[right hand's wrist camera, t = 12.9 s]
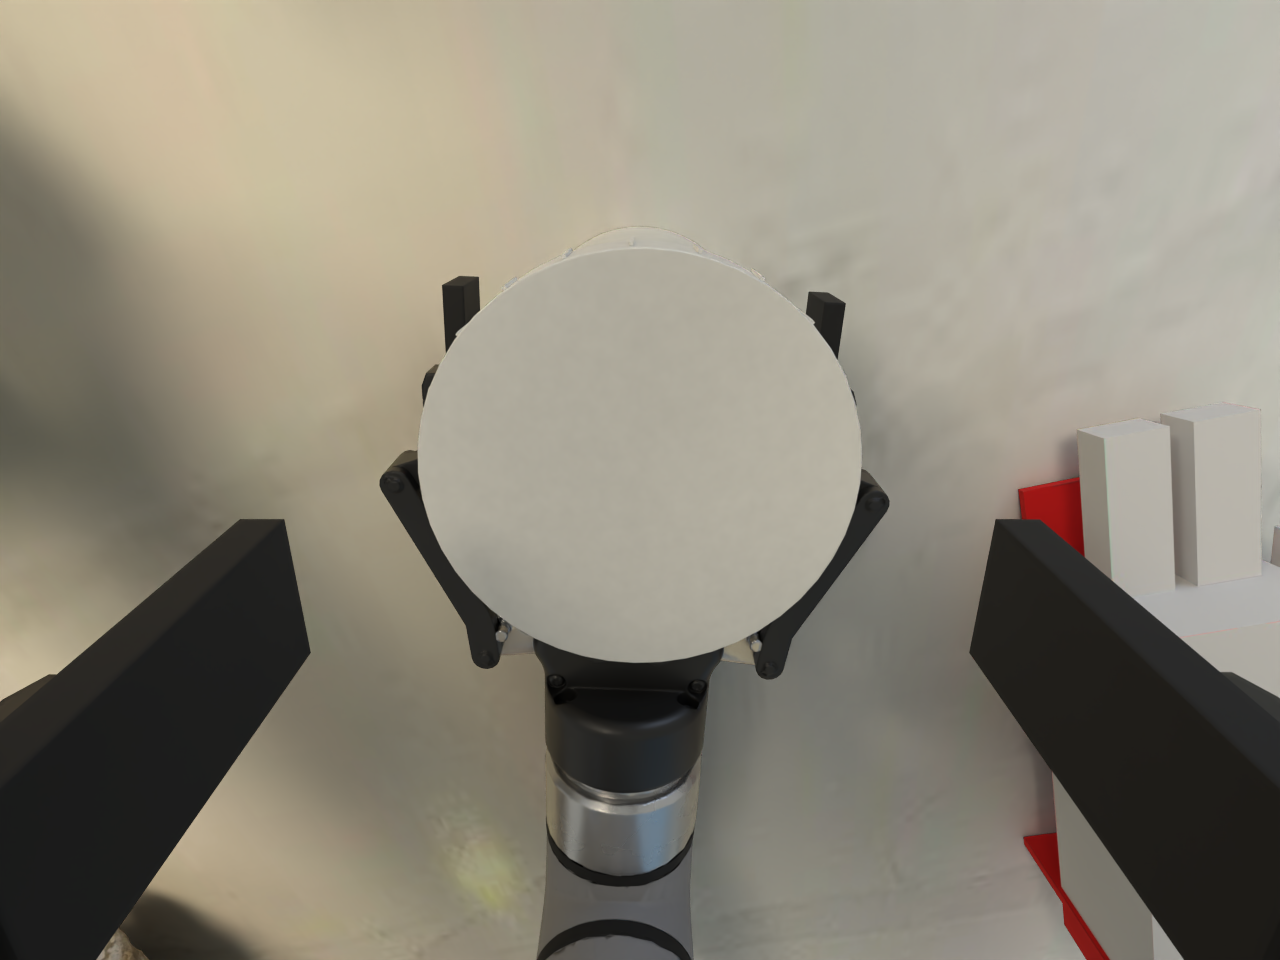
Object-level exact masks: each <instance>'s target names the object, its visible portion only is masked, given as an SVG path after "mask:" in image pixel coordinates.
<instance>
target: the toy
mask: <svg viewBox="0 0 1280 960" xmlns="http://www.w3.org/2000/svg"><path fill="white" fill-rule="evenodd" d="M1077 443H1078V459H1079V474H1080V477H1077V478H1072V479H1067V480H1062V481H1057V482H1052V483H1047V484H1042V485H1037V486H1032V487H1028V488H1023V489H1018V490H1019V498H1020V506H1021V515H1022V519H1040V520H1041V521H1042V522H1044V523H1045V524H1046V525H1047V526H1048V527H1049V528H1051V529H1052V530H1053V531H1054V532H1055V533H1057V534H1058V535H1059V536H1060V537H1061V538H1062V539H1064V540H1065V541H1066V542H1067V543H1068V544H1070V545H1071V546H1072V547H1073V548H1074V549H1075V550H1077V551H1078V552H1079V553H1080V554H1081V555H1083V556H1084V557H1085V558H1086V559H1087V560H1088V561H1090V562H1091V563H1092V564H1093V565H1094V566H1096V567H1097V568H1098V569H1099V570H1100V571H1101V572H1103V573H1104V574H1105V575H1106V576H1107V577H1109V578H1110V579H1111V580H1112V581H1113V582H1114V583H1116V584H1117V585H1118V586H1119V587H1120V588H1122V589H1123V590H1124V591H1125V592H1126V593H1127V594H1129V595H1130V596H1131V597H1132V598H1133V599H1135V600H1136V601H1137V602H1138V603H1139V604H1140V605H1142V606H1143V607H1144V608H1145V609H1146V610H1148V611H1149V612H1150V613H1151V614H1152V615H1153V616H1155V617H1156V618H1157V619H1158V620H1159V621H1161V622H1162V623H1163V624H1164V625H1165V626H1166V627H1168V628H1169V629H1170V630H1171V631H1172V632H1174V633H1175V634H1176V635H1177V636H1178V637H1179V638H1181V639H1182V640H1183V641H1184V642H1185V643H1187V644H1188V645H1189V646H1190V647H1191V648H1192V649H1194V650H1195V651H1196V652H1197V653H1198V654H1200V655H1201V656H1202V657H1203V658H1204V659H1205V660H1207V661H1208V662H1209V663H1210V664H1211V665H1213V666H1214V667H1215V668H1216V669H1217V670H1218V671H1220V672H1233V673H1235V674H1237V675H1238V676H1240V677H1242V678H1244V679H1246V680H1248V681H1250V682H1251V683H1253V684H1255V685H1257V686H1259V687H1261V688H1263V689H1264V690H1266V691H1268V692H1270V693H1272V694H1274V695H1276V696H1277V697H1279V698H1280V526H1275V528H1274V537H1273V546H1272V555H1271V563H1269V562H1266V561H1264V560H1262V554H1261V409H1256V408H1251V407H1246V406H1241V405H1236V404H1231V403H1225V402H1221V403H1215V404H1210V405H1205V406H1199V407H1194V408H1189V409H1183V410H1178V411H1173V412H1167V413H1162V414H1161V424H1159V423H1155V422H1151V421H1148V420H1144V419H1140V418H1135V419H1130V420H1125V421H1119V422H1114V423H1108V424H1103V425H1098V426H1092V427H1087V428H1082V429H1077ZM1052 780H1053V793H1054V805H1055V817H1056V829H1057V832H1056V833H1049V834H1042V835H1035V836H1028V837H1024V845H1025V846H1026V848H1027V849H1028V851H1029V852H1030V854H1031V855H1032V857H1033V859H1034V860H1035V862H1036V863H1037V865H1038V866H1039V868H1040V869H1041V871H1042V872H1043V874H1044V875H1045V877H1046V879H1047V880H1048V882H1049V883H1050V885H1051V886H1052V888H1053V889H1054V891H1055V892H1056V894H1057V896H1058V897H1059V899H1060V900H1061V902H1062V903H1063V914H1064V925H1065V926H1066V928H1067V929H1068V931H1069V933H1070V934H1071V936H1072V937H1073V939H1074V941H1075V942H1076V944H1077V945H1078V947H1079V949H1080V950H1081V952H1082V953H1083V955H1084V956H1085V958H1086V960H1184V959H1183V958H1182V957H1181V955H1180V954H1179V952H1178V951H1177V949H1176V948H1175V946H1174V945H1173V944H1172V942H1171V941H1170V939H1169V938H1168V936H1167V935H1166V934H1165V932H1164V931H1163V929H1162V928H1161V926H1160V925H1159V924H1158V922H1157V921H1156V919H1155V918H1154V916H1153V915H1152V914H1151V912H1150V911H1149V909H1148V908H1147V906H1146V905H1145V904H1144V902H1143V901H1142V899H1141V898H1140V896H1139V895H1138V893H1137V892H1136V891H1135V889H1134V888H1133V886H1132V885H1131V883H1130V882H1129V881H1128V879H1127V878H1126V876H1125V875H1124V873H1123V872H1122V871H1121V869H1120V868H1119V866H1118V865H1117V863H1116V862H1115V861H1114V859H1113V858H1112V856H1111V855H1110V853H1109V852H1108V851H1107V849H1106V848H1105V846H1104V845H1103V843H1102V842H1101V840H1100V839H1099V838H1098V836H1097V835H1096V833H1095V832H1094V830H1093V829H1092V828H1091V826H1090V825H1089V823H1088V822H1087V820H1086V819H1085V818H1084V816H1083V815H1082V813H1081V812H1080V810H1079V809H1078V808H1077V806H1076V805H1075V803H1074V802H1073V800H1072V799H1071V798H1070V796H1069V795H1068V793H1067V792H1066V790H1065V789H1064V787H1063V786H1062V785H1061V783H1060V782H1059V780H1058V779H1057V777H1056V776H1055V775H1054V773H1053V772H1052Z"/></svg>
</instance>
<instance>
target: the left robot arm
mask: <svg viewBox="0 0 1280 960" xmlns="http://www.w3.org/2000/svg"><path fill="white" fill-rule="evenodd" d="M442 291H443V309H444V327H445V346H446V353H447V351H448V350H449V348H450V346H451V345H452V343H453V341H454V340H455V338H456V337H457V336H456V333H457V332H458V331H459V330H460V329H461V328H463V327H464V326H465V325H466V324H467V323H469V322H470V320H471V319H472V318H473V317H474V316H475V315H476V314H477V313H478V312H479V311H480V296H479V277H469V276H459V277H457V278H455V279H453V280H451V281H449V282H447V283H445V284H444V285H442ZM845 304H846V303H844V302H843V301H841V300H839V299H838V298H836V297H834V296H833V295H831V294H829V293H825V292H809V294H808V302H807V310H806V315H807V316H809V317H810V318H811V319H812V320H813V321H814V322H815V323H814V324H813V325H814V326H815V328H816V329H817V330H818V332H819V333H820V334H821V336H822V337H823V338H824V340H825V341H826V342H827V344H828V345H829V347H830V348H831V349H832V351H833V353H834V355H835V357H836V359H838V353H839V346H840V339H841V332H842V325H843V318H844V311H845ZM438 367H439V365H435V366H433V367H432V368H431V369H430V370H429V371H428V372H427V373H426V375H425V378H424V381H423V384H422V396H423V408H424V404H425V400H426V397H427V393H428V389H429V387H430V385H431V383H432V380H433V378H434V376H435V373H436V371H437V369H438ZM850 390H851V389H850ZM851 392H852V395H853V398H854V400H855V396H854V392H853V391H852V390H851ZM855 405H856V400H855ZM380 488H381V490H382V492H383V494H384V495H385V497H386V498H387V500H388V502H389V503H390V505H391V506H392V508H393V510H394V511H395V513H396V514H397V516H398V518H399V519H400V521H401V522H402V524H403V526H404V527H405V529H406V530H407V532H408V534H409V535H410V537H411V538H412V540H413V542H414V543H415V545H416V546H417V548H418V550H419V551H420V553H421V554H422V556H423V558H424V559H425V561H426V562H427V564H428V566H429V567H430V569H431V570H432V572H433V574H434V575H435V577H436V578H437V580H438V582H439V583H440V585H441V586H442V588H443V590H444V591H445V593H446V594H447V596H448V598H449V599H450V601H451V602H452V604H453V606H454V607H455V609H456V610H457V612H458V614H459V615H460V617H461V618H462V620H463V622H464V623H465V625H466V628H467V634H468V639H469V645H470V650H471V655H472V659H473V662H474V663H475V664H476V665H477V666H479V667H481V668H485V669H489V668H493V667H494V666H496V665H497V664H498V662H499V659H500V656H501V655H512V654H529V653H535V654H536V656H537V657H538V659H539V660H540V662H541V663H542V665H543V668H544V671H545V738H546V745H547V749H546V755H545V776H546V826H547V856H546V885H545V898H544V907H543V915H542V922H541V930H540V937H539V945H538V952H537V960H694V958H693V943H692V929H691V914H690V875H691V857H692V840H693V835H694V826H695V821H696V815H697V805H698V794H699V783H700V772H701V751H702V747H703V740H704V729H705V719H706V708H707V698H708V687H709V679H710V676H711V674H712V672H713V670H714V668H715V667H716V666H717V665H718V663H719V662H720V661H729V662H736V663H744V664H751V665H755V668H756V671H757V673H758V675H759V676H760V677H761V678H764V679H774V678H777V677H778V676H779V675H781V673H782V671H783V669H784V665H785V662H786V658H787V654H788V651H789V647H790V644H791V640H792V638H793V636H794V635H795V634H796V632H797V631H798V630H799V628H800V627H801V625H802V624H803V623H804V621H805V620H806V619H807V617H808V616H809V615H810V613H811V612H812V611H813V609H814V608H815V607H816V605H817V604H818V603H819V601H820V600H821V599H822V597H823V596H824V595H825V593H826V592H827V591H828V589H829V588H830V587H831V585H832V584H833V583H834V581H835V580H836V579H837V577H838V576H839V575H840V573H841V572H842V571H843V569H844V568H845V566H846V565H847V564H848V562H849V561H850V560H851V558H852V557H853V556H854V554H855V553H856V552H857V550H858V549H859V548H860V546H861V545H862V544H863V542H864V541H865V540H866V538H867V537H868V536H869V534H870V533H871V532H872V530H873V529H874V528H875V526H876V525H877V524H878V522H879V521H880V520H881V518H882V517H883V516H884V514H885V513H886V512H887V510H888V507H889V499H888V497H887V495H886V494H885V492H884V491H883V490H882V489H881V487H880V486H879V485H878V484H877V482H876V481H875V480H874V478H873V477H872V476H871V475H870V474H869V473H868V472H867V471H866V470H863V469H861V479H860V487H859V491H858V496H857V500H856V505H855V509H854V512H853V515H852V518H851V520H850V523H849V526H848V528H847V531H846V534H845V536H844V538H843V540H842V542H841V544H840V546H839V548H838V549H837V551H836V553H835V555H834V557H833V559H832V560H831V562H830V563H829V564H828V566H827V567H826V569H825V570H824V572H823V573H822V574H821V576H820V577H819V579H818V580H817V581H816V582H815V583H814V584H813V586H812V587H811V588H810V589H809V590H808V591H807V592H806V593H805V594H804V595H803V597H802V598H801V599H800V600H799V601H797V602H796V603H795V604H794V605H793V606H792V607H790V608H789V609H788V610H787V611H786V612H785V613H783V614H782V615H781V616H780V617H778V618H777V619H775V620H774V621H772V622H771V623H769V624H768V625H767V626H765V627H764V628H762V629H761V630H759V631H757V632H755V633H753V634H751V635H750V636H748V637H746V638H744V639H742V640H740V641H738V642H736V643H733V644H731V645H728V646H726V647H723V648H720V649H718V650H715V651H712V652H709V653H705V654H701V655H697V656H693V657H690V658H685V659H678V660H671V661H664V662H646V663H630V662H617V661H607V660H601V659H596V658H591V657H585V656H581V655H578V654H575V653H571V652H568V651H565V650H562V649H558V648H556V647H554V646H551V645H549V644H547V643H544V642H542V641H540V640H538V639H535V638H533V637H532V636H530V635H528V634H526V633H525V632H523V631H521V630H519V629H518V628H516V627H514V626H513V625H511V624H510V623H508V622H507V621H506V620H504V619H503V618H502V617H500V616H499V615H498V614H496V613H495V612H494V611H492V610H491V609H490V608H489V607H488V606H487V605H486V604H485V603H484V602H482V601H481V600H480V599H479V598H478V597H477V596H476V595H475V594H474V593H473V592H472V591H471V590H470V588H469V587H468V586H467V585H466V584H465V582H464V581H463V580H462V579H461V578H460V576H459V575H458V574H457V573H456V571H455V570H454V568H453V567H452V565H451V564H450V562H449V560H448V559H447V557H446V556H445V554H444V552H443V551H442V549H441V547H440V545H439V543H438V541H437V538H436V536H435V534H434V532H433V530H432V528H431V525H430V522H429V519H428V516H427V513H426V509H425V506H424V503H423V500H422V494H421V487H420V481H419V475H418V450H417V451H412V450H409V451H405V452H403V453H402V454H401V455H400V456H399V457H398V458H397V459H396V460H395V461H394V463H393V464H392V465H391V466H390V467H389V468H388V469H387V471H386V472H385V473H384V474H383V475H382V477H381V479H380Z"/></svg>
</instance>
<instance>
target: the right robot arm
mask: <svg viewBox="0 0 1280 960" xmlns="http://www.w3.org/2000/svg"><path fill="white" fill-rule="evenodd" d="M310 653H311V652H310V647H309V642H308V637H307V632H306V627H305V622H304V617H303V612H302V607H301V602H300V597H299V592H298V586H297V581H296V576H295V571H294V566H293V561H292V556H291V551H290V546H289V541H288V536H287V531H286V526H285V521H284V519H240V520H239V521H238V522H236V523H235V524H234V525H233V526H232V527H231V528H229V529H228V530H227V531H226V532H225V533H223V534H222V535H221V536H220V537H219V538H218V539H216V540H215V541H214V542H213V543H212V544H210V545H209V546H208V547H207V548H206V549H205V550H203V551H202V552H201V553H200V554H199V555H197V556H196V557H195V558H194V559H193V560H192V561H190V562H189V563H188V564H187V565H186V566H184V567H183V568H182V569H181V570H180V571H179V572H177V573H176V574H175V575H174V576H173V577H171V578H170V579H169V580H168V581H167V582H166V583H164V584H163V585H162V586H161V587H160V588H158V589H157V590H156V591H155V592H154V593H153V594H151V595H150V596H149V597H148V598H147V599H145V600H144V601H143V602H142V603H141V604H140V605H138V606H137V607H136V608H135V609H134V610H132V611H131V612H130V613H129V614H128V615H127V616H125V617H124V618H123V619H122V620H121V621H119V622H118V623H117V624H116V625H115V626H114V627H112V628H111V629H110V630H109V631H108V632H106V633H105V634H104V635H103V636H102V637H101V638H99V639H98V640H97V641H96V642H95V643H93V644H92V645H91V646H90V647H89V648H88V649H86V650H85V651H84V652H83V653H82V654H80V655H79V656H78V657H77V658H76V659H75V660H73V661H72V662H71V663H70V664H69V665H67V666H66V667H65V668H64V669H63V670H62V671H60V672H59V673H58V674H57V675H47V676H45V677H43V678H42V679H40V680H38V681H36V682H34V683H32V684H31V685H29V686H27V687H25V688H23V689H21V690H19V691H18V692H16V693H14V694H12V695H10V696H8V697H7V698H5V699H3V700H2V701H1V702H0V960H96V959H97V958H98V957H99V955H100V954H101V952H102V951H103V949H104V948H105V946H106V945H107V944H108V942H109V941H110V939H111V938H112V936H113V935H114V934H115V932H116V931H117V929H118V928H119V926H120V925H121V924H122V922H123V921H124V919H125V918H126V916H127V915H128V914H129V912H130V911H131V909H132V908H133V906H134V905H135V904H136V902H137V901H138V899H139V898H140V896H141V895H142V893H143V892H144V891H145V889H146V888H147V886H148V885H149V883H150V882H151V881H152V879H153V878H154V876H155V875H156V873H157V872H158V871H159V869H160V868H161V866H162V865H163V863H164V862H165V861H166V859H167V858H168V856H169V855H170V853H171V852H172V851H173V849H174V848H175V846H176V845H177V843H178V842H179V840H180V839H181V838H182V836H183V835H184V833H185V832H186V830H187V829H188V828H189V826H190V825H191V823H192V822H193V820H194V819H195V818H196V816H197V815H198V813H199V812H200V810H201V809H202V808H203V806H204V805H205V803H206V802H207V800H208V799H209V798H210V796H211V795H212V793H213V792H214V790H215V789H216V787H217V786H218V785H219V783H220V782H221V780H222V779H223V777H224V776H225V775H226V773H227V772H228V770H229V769H230V767H231V766H232V765H233V763H234V762H235V760H236V759H237V757H238V756H239V755H240V753H241V752H242V750H243V749H244V747H245V746H246V745H247V743H248V742H249V740H250V739H251V737H252V736H253V734H254V733H255V732H256V730H257V729H258V727H259V726H260V724H261V723H262V722H263V720H264V719H265V717H266V716H267V714H268V713H269V712H270V710H271V709H272V707H273V706H274V704H275V703H276V702H277V700H278V699H279V697H280V696H281V694H282V693H283V692H284V690H285V689H286V687H287V686H288V684H289V683H290V681H291V680H292V679H293V677H294V676H295V674H296V673H297V671H298V670H299V669H300V667H301V666H302V664H303V663H304V661H305V660H306V659H307V657H308V656H309V654H310ZM969 653H970V654H971V656H972V657H973V659H974V660H975V661H976V663H977V664H978V666H979V667H980V669H981V670H982V671H983V673H984V674H985V676H986V677H987V679H988V680H989V681H990V683H991V684H992V686H993V687H994V689H995V690H996V692H997V693H998V694H999V696H1000V697H1001V699H1002V700H1003V702H1004V703H1005V704H1006V706H1007V707H1008V709H1009V710H1010V712H1011V713H1012V714H1013V716H1014V717H1015V719H1016V720H1017V722H1018V723H1019V724H1020V726H1021V727H1022V729H1023V730H1024V732H1025V733H1026V734H1027V736H1028V737H1029V739H1030V740H1031V742H1032V743H1033V745H1034V746H1035V747H1036V749H1037V750H1038V752H1039V753H1040V755H1041V756H1042V757H1043V759H1044V760H1045V762H1046V763H1047V765H1048V766H1049V767H1050V769H1051V770H1052V772H1053V773H1054V775H1055V776H1056V777H1057V779H1058V780H1059V782H1060V783H1061V785H1062V786H1063V787H1064V789H1065V790H1066V792H1067V793H1068V795H1069V796H1070V798H1071V799H1072V800H1073V802H1074V803H1075V805H1076V806H1077V808H1078V809H1079V810H1080V812H1081V813H1082V815H1083V816H1084V818H1085V819H1086V820H1087V822H1088V823H1089V825H1090V826H1091V828H1092V829H1093V830H1094V832H1095V833H1096V835H1097V836H1098V838H1099V839H1100V840H1101V842H1102V843H1103V845H1104V846H1105V848H1106V849H1107V851H1108V852H1109V853H1110V855H1111V856H1112V858H1113V859H1114V861H1115V862H1116V863H1117V865H1118V866H1119V868H1120V869H1121V871H1122V872H1123V873H1124V875H1125V876H1126V878H1127V879H1128V881H1129V882H1130V883H1131V885H1132V886H1133V888H1134V889H1135V891H1136V892H1137V893H1138V895H1139V896H1140V898H1141V899H1142V901H1143V902H1144V904H1145V905H1146V906H1147V908H1148V909H1149V911H1150V912H1151V914H1152V915H1153V916H1154V918H1155V919H1156V921H1157V922H1158V924H1159V925H1160V926H1161V928H1162V929H1163V931H1164V932H1165V934H1166V935H1167V936H1168V938H1169V939H1170V941H1171V942H1172V944H1173V945H1174V946H1175V948H1176V949H1177V951H1178V952H1179V954H1180V955H1181V957H1182V958H1183V959H1184V960H1280V698H1279V697H1277V696H1276V695H1274V694H1272V693H1270V692H1268V691H1266V690H1264V689H1263V688H1261V687H1259V686H1257V685H1255V684H1253V683H1251V682H1250V681H1248V680H1246V679H1244V678H1242V677H1240V676H1238V675H1237V674H1235V673H1233V672H1220V671H1218V670H1217V669H1216V668H1215V667H1214V666H1213V665H1211V664H1210V663H1209V662H1208V661H1207V660H1205V659H1204V658H1203V657H1202V656H1201V655H1200V654H1198V653H1197V652H1196V651H1195V650H1194V649H1192V648H1191V647H1190V646H1189V645H1188V644H1187V643H1185V642H1184V641H1183V640H1182V639H1181V638H1179V637H1178V636H1177V635H1176V634H1175V633H1174V632H1172V631H1171V630H1170V629H1169V628H1168V627H1166V626H1165V625H1164V624H1163V623H1162V622H1161V621H1159V620H1158V619H1157V618H1156V617H1155V616H1153V615H1152V614H1151V613H1150V612H1149V611H1148V610H1146V609H1145V608H1144V607H1143V606H1142V605H1140V604H1139V603H1138V602H1137V601H1136V600H1135V599H1133V598H1132V597H1131V596H1130V595H1129V594H1127V593H1126V592H1125V591H1124V590H1123V589H1122V588H1120V587H1119V586H1118V585H1117V584H1116V583H1114V582H1113V581H1112V580H1111V579H1110V578H1109V577H1107V576H1106V575H1105V574H1104V573H1103V572H1101V571H1100V570H1099V569H1098V568H1097V567H1096V566H1094V565H1093V564H1092V563H1091V562H1090V561H1088V560H1087V559H1086V558H1085V557H1084V556H1083V555H1081V554H1080V553H1079V552H1078V551H1077V550H1075V549H1074V548H1073V547H1072V546H1071V545H1070V544H1068V543H1067V542H1066V541H1065V540H1064V539H1062V538H1061V537H1060V536H1059V535H1058V534H1057V533H1055V532H1054V531H1053V530H1052V529H1051V528H1049V527H1048V526H1047V525H1046V524H1045V523H1044V522H1042V521H1041V520H1040V519H996V521H995V526H994V531H993V536H992V541H991V546H990V551H989V556H988V561H987V566H986V571H985V576H984V581H983V586H982V591H981V597H980V602H979V607H978V612H977V617H976V622H975V627H974V632H973V637H972V642H971V647H970V652H969Z"/></svg>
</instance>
